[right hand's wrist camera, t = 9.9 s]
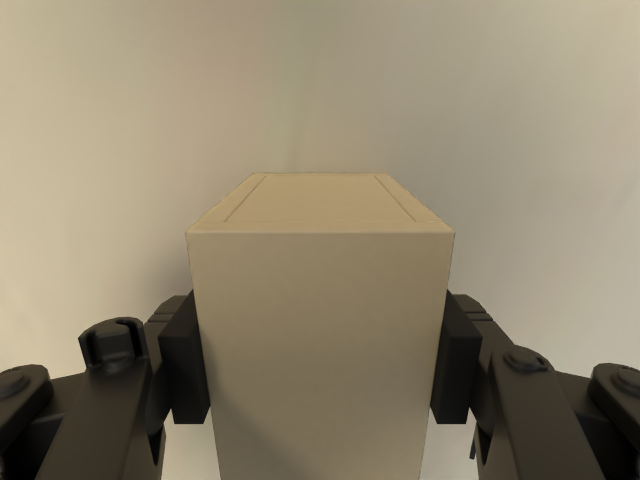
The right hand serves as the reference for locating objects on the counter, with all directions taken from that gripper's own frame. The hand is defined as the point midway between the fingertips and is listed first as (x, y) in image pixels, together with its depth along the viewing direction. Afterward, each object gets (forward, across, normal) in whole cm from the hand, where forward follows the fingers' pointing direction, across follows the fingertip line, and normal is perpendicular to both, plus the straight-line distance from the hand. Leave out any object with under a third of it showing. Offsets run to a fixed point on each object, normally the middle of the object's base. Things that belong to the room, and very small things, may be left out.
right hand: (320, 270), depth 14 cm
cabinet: (+2, 0, -5) cm, 5 cm away
